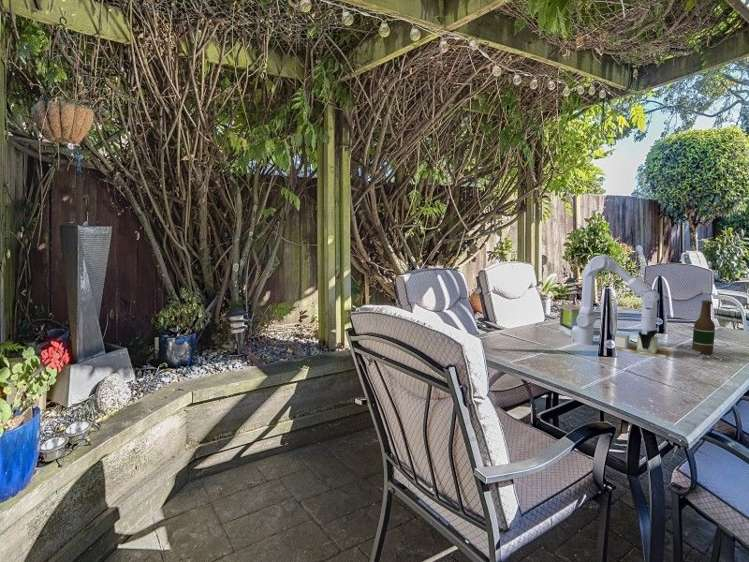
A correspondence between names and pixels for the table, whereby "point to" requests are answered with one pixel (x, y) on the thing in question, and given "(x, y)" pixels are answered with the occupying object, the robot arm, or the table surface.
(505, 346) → the table surface
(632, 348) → the display board
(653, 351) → the sage carton
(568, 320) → the tea box
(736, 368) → the table surface
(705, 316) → the beer bottle
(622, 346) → the slate carton
